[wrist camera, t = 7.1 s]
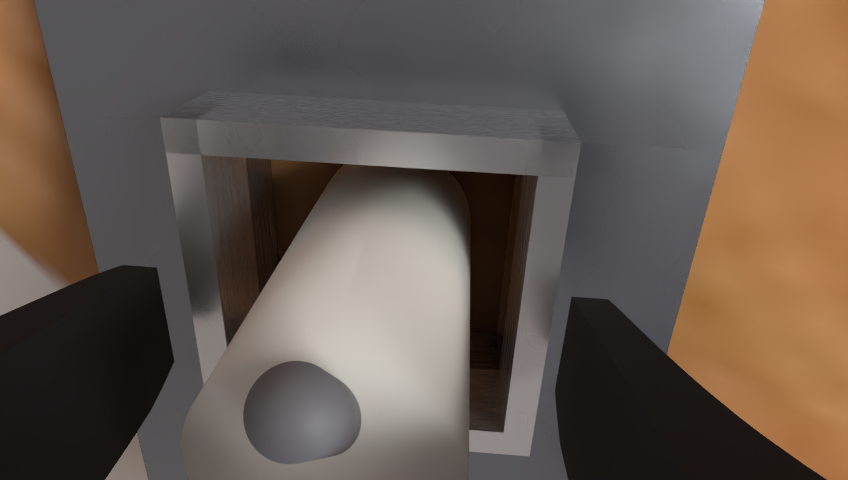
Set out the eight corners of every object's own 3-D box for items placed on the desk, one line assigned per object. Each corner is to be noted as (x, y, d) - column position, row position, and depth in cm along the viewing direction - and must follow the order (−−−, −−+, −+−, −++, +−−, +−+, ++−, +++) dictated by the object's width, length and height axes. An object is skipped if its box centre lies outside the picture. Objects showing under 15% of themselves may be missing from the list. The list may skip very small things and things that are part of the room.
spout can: (462, 293, 15) (451, 705, 7) (320, 279, 15) (142, 667, 7) (482, 129, 13) (498, 432, 5) (319, 115, 13) (71, 386, 5)
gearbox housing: (605, 487, 17) (635, 605, 14) (175, 450, 18) (112, 556, 15) (807, -315, 9) (978, -448, 6) (14, -334, 10) (-196, -465, 7)
